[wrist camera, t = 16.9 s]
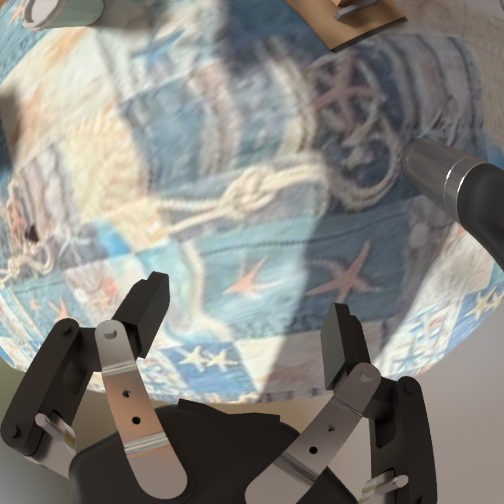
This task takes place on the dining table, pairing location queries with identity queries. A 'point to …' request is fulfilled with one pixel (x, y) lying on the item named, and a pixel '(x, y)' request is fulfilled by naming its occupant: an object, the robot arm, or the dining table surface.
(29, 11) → the disposable coffee cup
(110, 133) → the dining table surface
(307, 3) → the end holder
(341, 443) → the robot arm
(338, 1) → the plug
